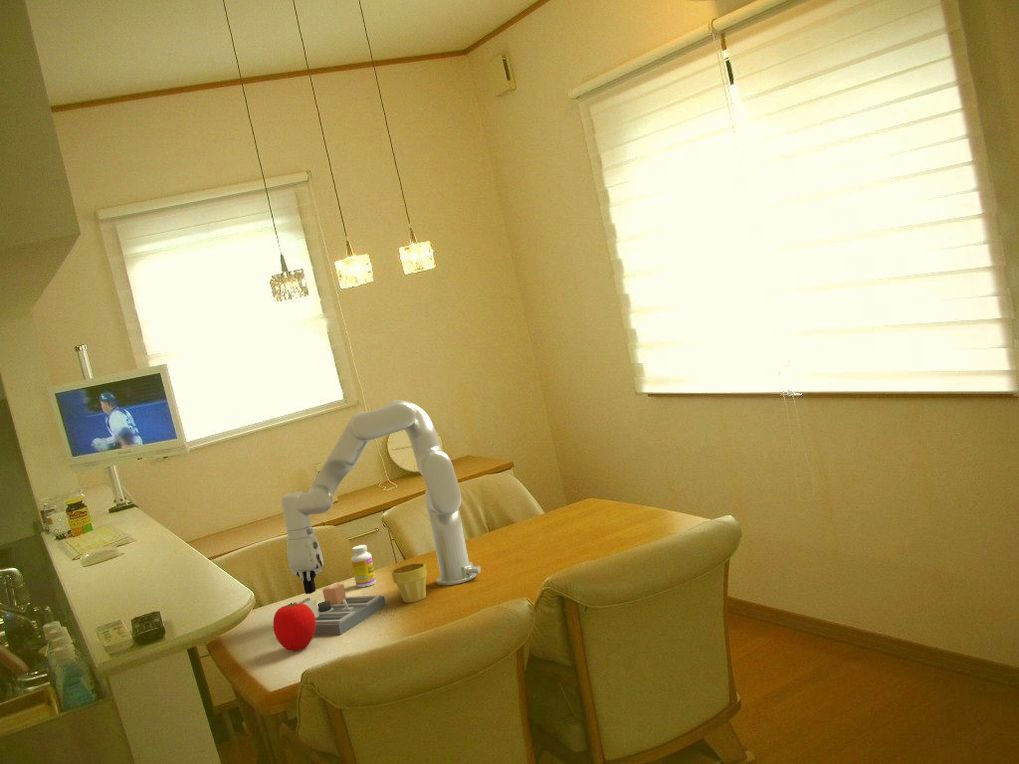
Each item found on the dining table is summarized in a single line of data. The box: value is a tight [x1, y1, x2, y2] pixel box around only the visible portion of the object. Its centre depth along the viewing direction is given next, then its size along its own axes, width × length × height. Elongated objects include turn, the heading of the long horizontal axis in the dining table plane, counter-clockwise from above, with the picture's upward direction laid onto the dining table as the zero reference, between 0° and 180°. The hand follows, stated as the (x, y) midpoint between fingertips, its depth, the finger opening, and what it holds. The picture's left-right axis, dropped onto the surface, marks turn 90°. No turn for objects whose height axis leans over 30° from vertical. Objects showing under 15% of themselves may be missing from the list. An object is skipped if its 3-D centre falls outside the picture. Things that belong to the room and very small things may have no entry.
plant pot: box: [391, 562, 428, 603], centre depth 304 cm, size 10×10×10 cm
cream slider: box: [298, 597, 319, 618], centre depth 292 cm, size 4×4×6 cm
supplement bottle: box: [350, 544, 377, 588], centre depth 333 cm, size 7×7×13 cm
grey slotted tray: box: [313, 594, 387, 637], centre depth 296 cm, size 18×24×7 cm
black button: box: [317, 600, 331, 612], centre depth 298 cm, size 4×4×2 cm
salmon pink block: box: [322, 582, 347, 605], centre depth 304 cm, size 4×4×6 cm
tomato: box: [272, 602, 316, 652], centre depth 275 cm, size 11×11×13 cm
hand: (310, 592), depth 307 cm, fingers closed
